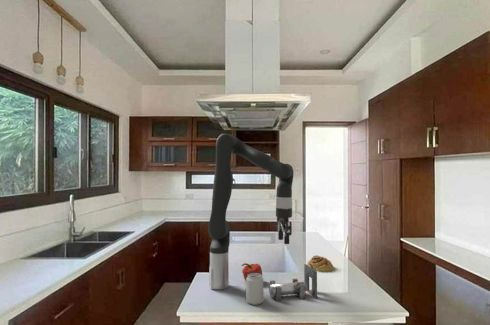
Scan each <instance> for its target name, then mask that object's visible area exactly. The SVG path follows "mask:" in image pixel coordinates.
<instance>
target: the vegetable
mask: <svg viewBox="0 0 490 325" xmlns="http://www.w3.org/2000/svg"><path fill="white" fill-rule="evenodd" d="M241 267H243V268H242V272H241V273H242V276H243V279H244V281H245V282H246V278H247V277H248V274H250V273H259V274H261V275H262V276H263V270H262V267H261V265H260V264H259V263H250V264H249V263H246V262H244V263H243V264H241Z"/></svg>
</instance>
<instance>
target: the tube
mask: <svg viewBox="0 0 490 325" xmlns="http://www.w3.org/2000/svg"><path fill="white" fill-rule="evenodd" d="M300 284H304V281H299V280H298V281H295V282H294V283H293V282H285V283H275V284H272V285H270V284H268V294H269V296H270V297H273V296H276V287H278V286H280V287H281V296H289V295H296V294H299V285H300ZM304 285H305V284H304ZM305 292H307V291H306V287H305Z"/></svg>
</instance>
